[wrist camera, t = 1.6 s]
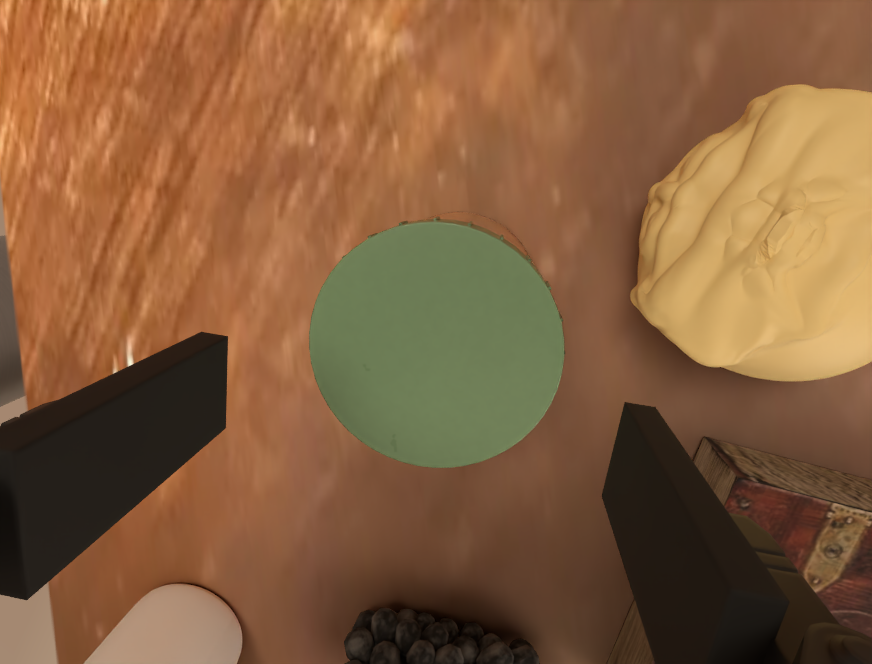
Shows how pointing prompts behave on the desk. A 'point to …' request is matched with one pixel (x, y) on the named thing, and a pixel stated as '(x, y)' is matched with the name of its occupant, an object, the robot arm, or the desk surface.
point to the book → (789, 530)
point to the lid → (437, 343)
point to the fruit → (428, 641)
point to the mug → (174, 630)
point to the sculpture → (768, 240)
